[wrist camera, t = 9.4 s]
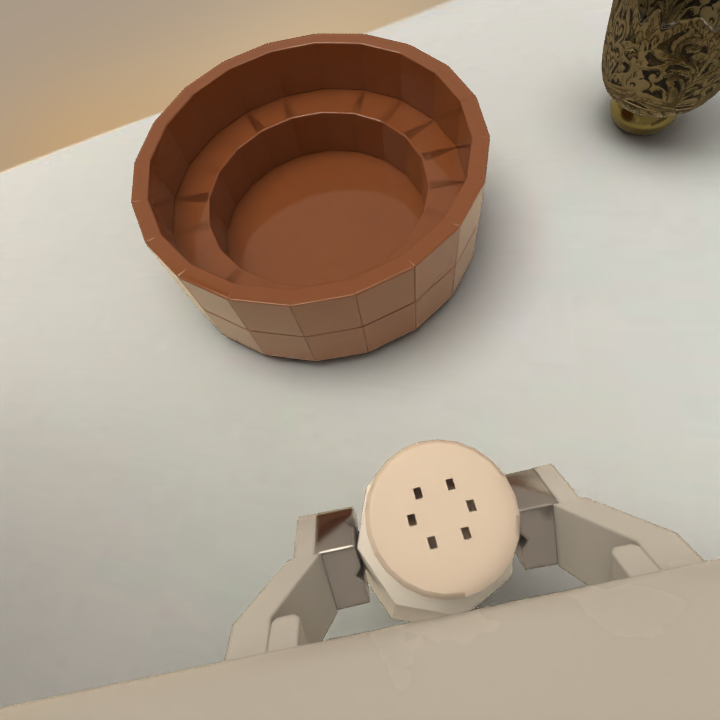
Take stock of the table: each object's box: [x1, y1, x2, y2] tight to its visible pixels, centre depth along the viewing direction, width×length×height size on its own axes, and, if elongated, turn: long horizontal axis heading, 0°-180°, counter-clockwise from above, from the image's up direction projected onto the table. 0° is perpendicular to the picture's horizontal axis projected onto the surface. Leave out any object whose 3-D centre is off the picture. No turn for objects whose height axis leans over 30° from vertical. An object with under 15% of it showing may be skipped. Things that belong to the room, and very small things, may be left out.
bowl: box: [131, 34, 490, 361], centre depth 26 cm, size 17×17×6 cm
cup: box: [602, 0, 720, 135], centre depth 26 cm, size 8×7×8 cm
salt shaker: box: [357, 440, 520, 622], centre depth 14 cm, size 5×5×11 cm
